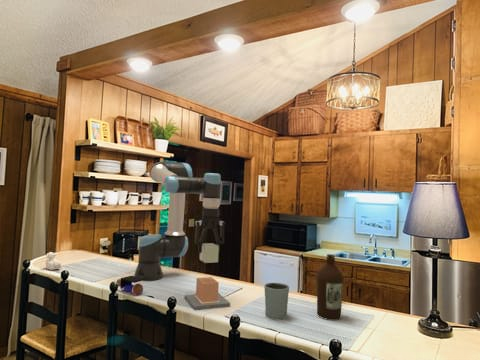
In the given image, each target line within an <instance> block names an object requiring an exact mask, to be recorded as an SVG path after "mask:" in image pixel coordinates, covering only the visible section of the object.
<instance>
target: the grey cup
mask: <svg viewBox="0 0 480 360" xmlns="http://www.w3.org/2000/svg"><path fill="white" fill-rule="evenodd" d="M289 294H290V286H289V285H288V284H285V283H282V282H280V283H279V282H267V283H265V284H264V303H265V310H264V312H265V317H267V318H268V317H269V319H271V318H274V319H273V320H278V319H279V320H284V319H286V318H287V315H288V302H289ZM285 317H286V318H285ZM283 318H284V319H283Z"/></svg>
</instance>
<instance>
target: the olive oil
mask: <svg viewBox="0 0 480 360" xmlns="http://www.w3.org/2000/svg"><path fill="white" fill-rule="evenodd" d="M335 256H336V255H335V254H332V253H328V254H326V263H325V264H324V265H323V266H322V267H321V268H320V269H319V270H318V272H317V275H316V297H317V298H316V299H317V301H316V314H318V315H319V316H321V317H323V318H322V319H324V318H327V319H326V320H328V319H337V320H340V319H341V318H342V306H343V305H342V301H343V297H342V294H343V290H344V274H343V272H341V270H340V269H339V268H338V267H337V266H336V264H335V263H336V257H335ZM318 315H317V316H318ZM319 316H318V317H319ZM321 317H320V318H321ZM340 317H341V318H340ZM339 318H340V319H339Z"/></svg>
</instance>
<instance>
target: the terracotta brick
mask: <svg viewBox="0 0 480 360" xmlns="http://www.w3.org/2000/svg"><path fill="white" fill-rule="evenodd" d="M219 284H220V282H219V281H217V280H216V279H215V278H214V277H212V276H205V277H204V276H203V277H196V286H195V287H196V288H195V294H196V296H197V297H198V298H199V300H200V301H201V302H202V303H204V302H215V301H218V293H219Z"/></svg>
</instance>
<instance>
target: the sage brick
mask: <svg viewBox="0 0 480 360" xmlns="http://www.w3.org/2000/svg"><path fill="white" fill-rule="evenodd" d="M202 245H203V246H204V254H203V261H202V262H203V263H204V264H208V263H209V264H210V263H211V264H212V263H219V252H218V251H219V246H217V244H215V243H212V242H210V243H208V242H207V243H206V242H205V243H203V244H202Z"/></svg>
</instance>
